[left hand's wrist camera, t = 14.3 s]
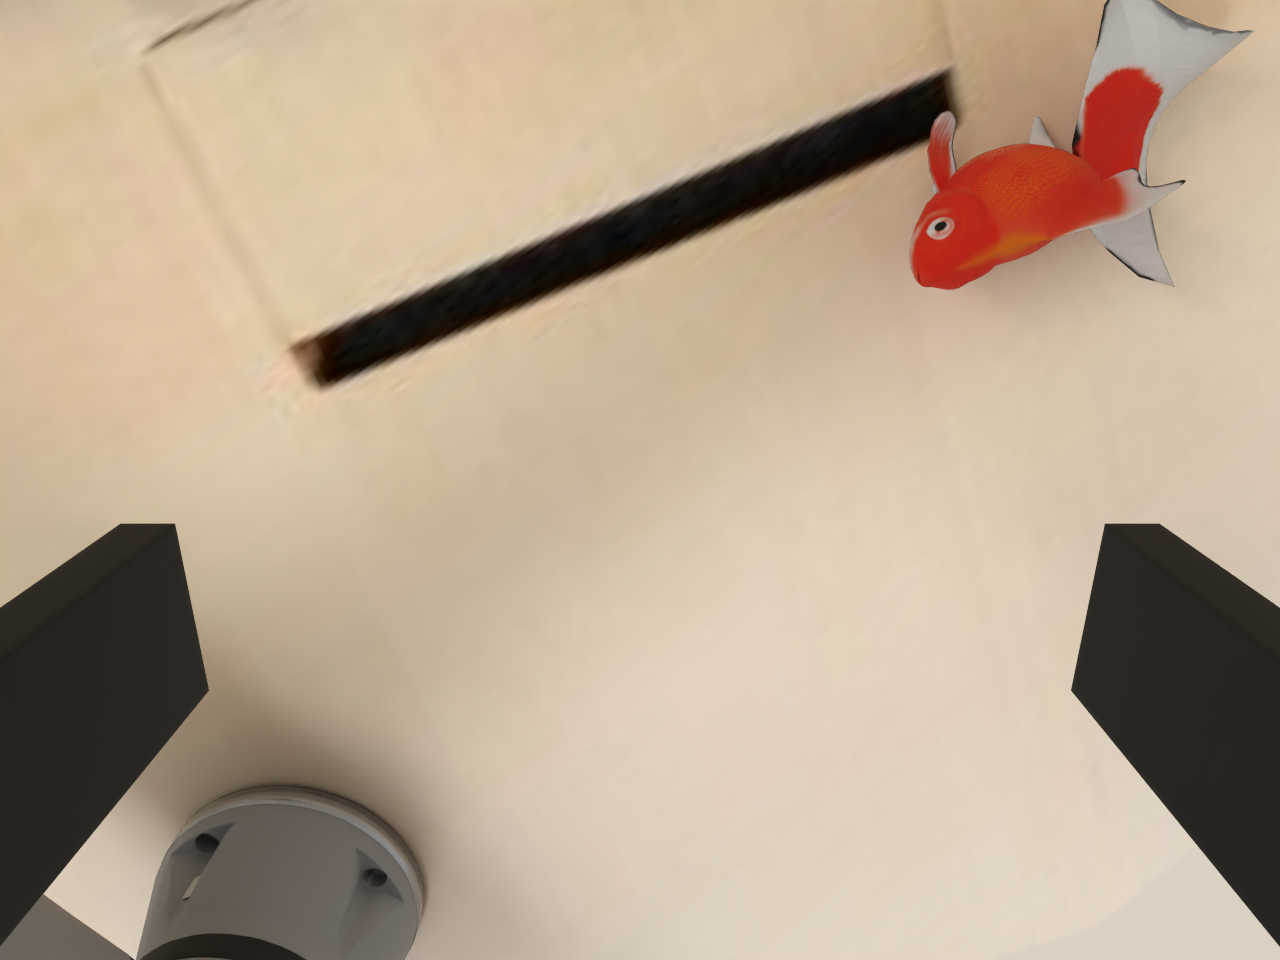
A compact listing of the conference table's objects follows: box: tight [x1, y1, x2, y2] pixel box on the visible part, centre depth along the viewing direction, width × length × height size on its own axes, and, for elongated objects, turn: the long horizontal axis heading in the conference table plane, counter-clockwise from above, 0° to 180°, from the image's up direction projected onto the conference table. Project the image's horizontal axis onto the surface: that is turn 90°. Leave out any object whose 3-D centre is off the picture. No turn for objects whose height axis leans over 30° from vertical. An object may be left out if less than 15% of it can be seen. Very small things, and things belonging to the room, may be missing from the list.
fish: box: [910, 0, 1254, 290], centre depth 34 cm, size 11×16×10 cm
